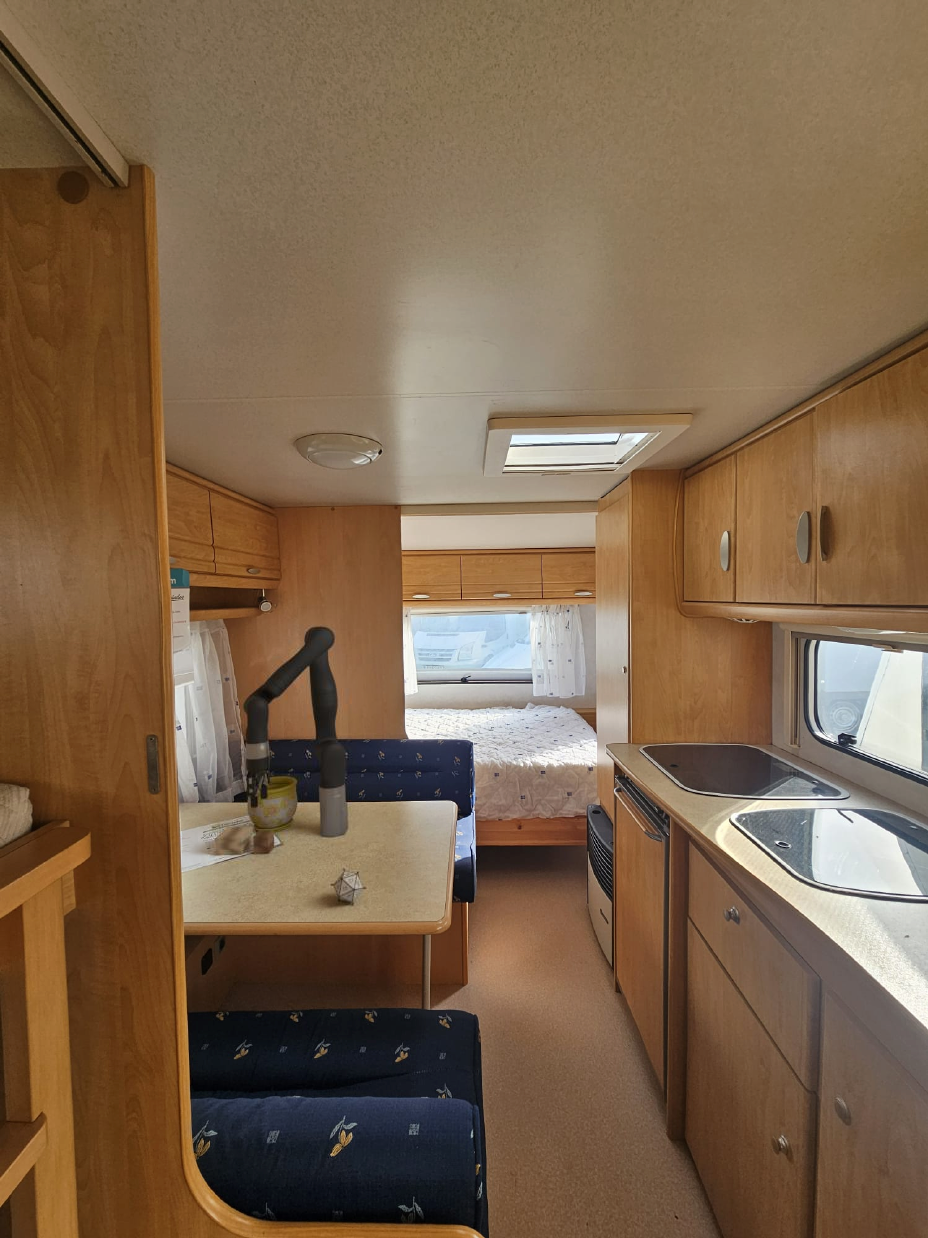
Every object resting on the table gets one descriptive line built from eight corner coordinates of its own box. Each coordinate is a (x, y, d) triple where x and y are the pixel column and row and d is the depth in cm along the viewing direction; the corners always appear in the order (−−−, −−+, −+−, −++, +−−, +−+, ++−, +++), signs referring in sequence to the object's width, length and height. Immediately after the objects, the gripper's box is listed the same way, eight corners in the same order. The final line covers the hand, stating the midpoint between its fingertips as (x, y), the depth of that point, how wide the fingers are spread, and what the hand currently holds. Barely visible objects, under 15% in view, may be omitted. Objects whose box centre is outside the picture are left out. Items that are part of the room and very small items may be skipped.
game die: (344, 912, 144) (334, 875, 149) (372, 899, 145) (362, 862, 150) (332, 912, 136) (323, 873, 141) (363, 898, 137) (352, 860, 142)
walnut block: (274, 847, 179) (273, 830, 179) (268, 854, 174) (267, 836, 174) (260, 848, 179) (259, 830, 179) (253, 854, 174) (253, 836, 174)
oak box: (253, 843, 183) (252, 826, 183) (242, 855, 174) (241, 837, 174) (228, 844, 184) (227, 827, 183) (215, 856, 175) (214, 838, 174)
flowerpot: (280, 814, 210) (278, 773, 210) (308, 823, 200) (306, 780, 200) (238, 830, 196) (236, 786, 196) (266, 840, 185) (264, 794, 185)
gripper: (260, 760, 169) (262, 810, 169) (276, 749, 184) (277, 795, 184) (237, 761, 169) (239, 811, 169) (254, 750, 184) (256, 796, 184)
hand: (259, 802), depth 177 cm, fingers open, 8 cm apart
